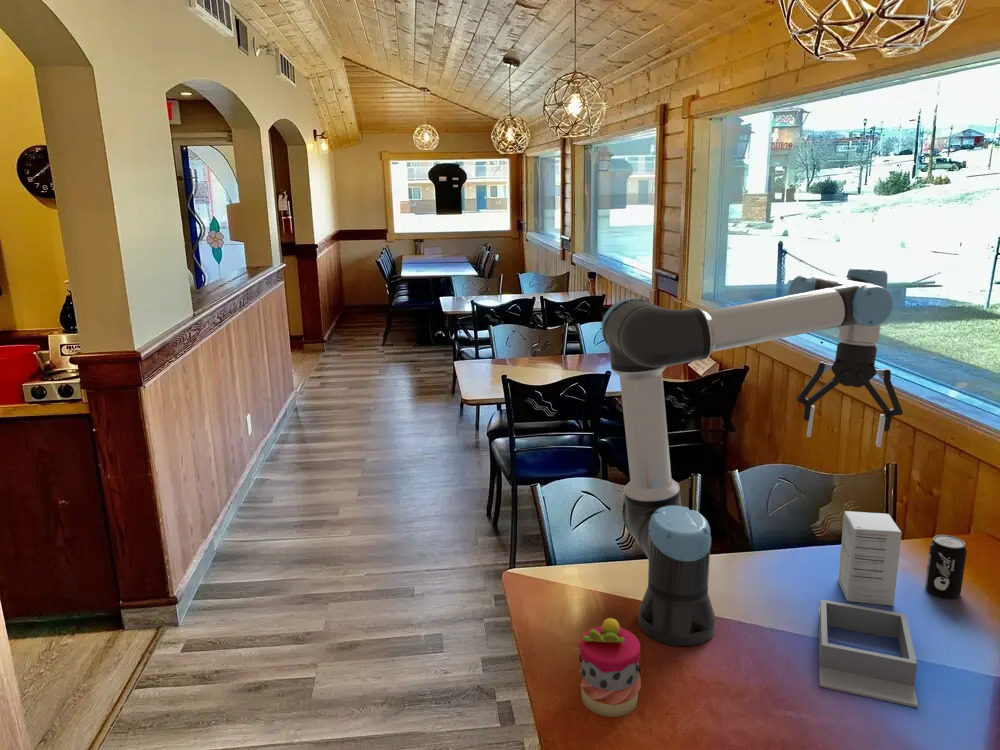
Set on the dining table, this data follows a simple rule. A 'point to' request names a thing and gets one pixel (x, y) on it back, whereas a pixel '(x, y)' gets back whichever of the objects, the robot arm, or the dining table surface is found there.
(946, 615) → the dining table surface
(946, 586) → the beverage can
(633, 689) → the cake
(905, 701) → the grey open box
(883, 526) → the supplement box
